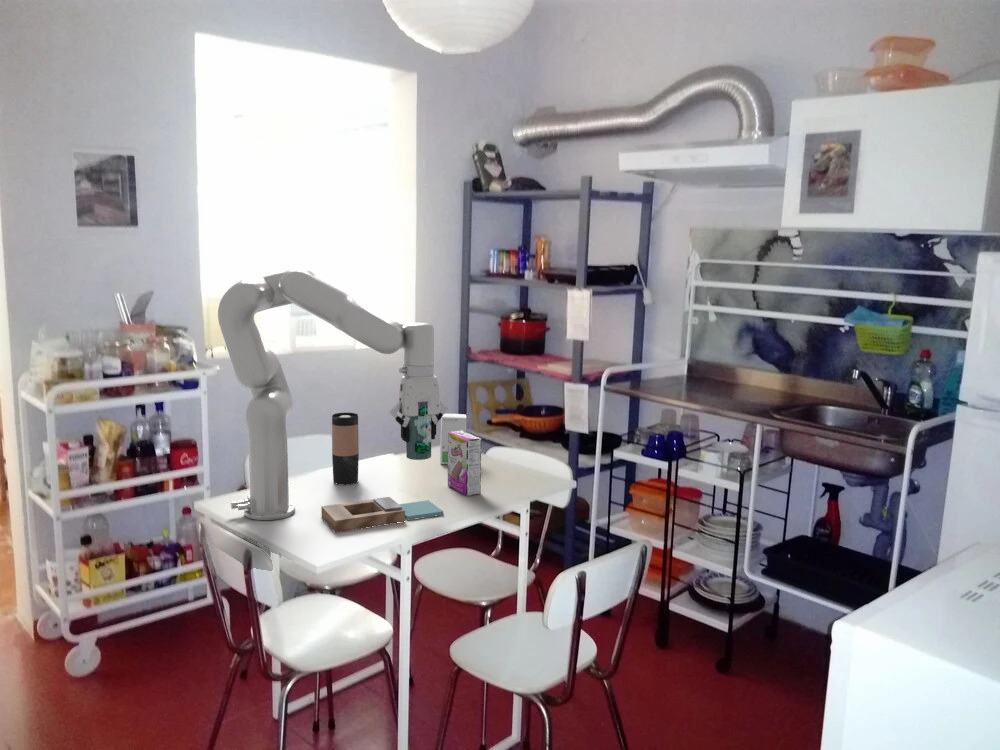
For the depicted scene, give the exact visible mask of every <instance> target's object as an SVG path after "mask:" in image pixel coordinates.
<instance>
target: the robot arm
mask: <svg viewBox="0 0 1000 750" xmlns="http://www.w3.org/2000/svg"><path fill="white" fill-rule="evenodd" d="M291 304H293V305H295V306H297V307H299V308H300V309H303V310H305V311H306V312H308V313H310V314H311V315H313V316H316V317H318V318H319V319H321V320H322V321H324V322H326V323H328V324H330V325H332V326H333V327H334V328H335V329H337V330H339V331H341V332H342V333H344V334H346V335H347V336H349V337H351V338H352V339H354V340H356V341H357V342H360V343H361V344H363V345H364V346H366V347H368V348H370V349H371V350H373V351H376V352H378V353H380V354H383V355H391V354H395V353H396V352H398V351H399V349H401V350H402V349H403V354H404V355H403V362H404V363H403V366H402V367H399V368H398V373H399V374H403V375H404V376H403V375H402V376H401V379H400V385H399V389H398V390H399V391H398V402H397V403H396V404H395V405H394V406H393V407H392V408H391V409H390V410H389V411H388V413H389V415H390V416H391V417H392V418H393V419H394V420H395V422H396V423H398V425H400V438H401V439H402V441H404V442H405V443H406V442H409V427H408V422H409V420H410V417H415V416H418V402H427V401H428V415H429V416H430V415H431V440H436V436H437V425H438V424H439V422H440V421H441V418H442V416H443V414H444V413H445V414H446V412H447V411H448V410H449V409H448V407H447V406H446V405H445V404H444V403H443V402H442V401H441V396H440V394H441V393H440V387H439V382H438V381H439V380H438V377H437V375H435V372H434V371H435V366H434V365H435V361H434V360H435V354H434V353H435V328H434V325H432V324H431V323H429V322H408V323H406V322H401V321H393V320H386V321H385V320H383V319H382V318H380V317H378V316H376V315H374V314H372V313H371V312H369V311H368V310H366V309H364V307H362V306H360V305H359V304H358V303H357V302H356V301H355V300H354V299H353V298H352V297H351V296H350V295H349V294H347V293H345V292H344V291H342V290H340V289H338V288H337V287H334V286H332V284H329V283H327V282H325V281H323V280H322V279H320V278H318V277H317V276H316V275H315V273H314V272H312V271H311V270H309V269H307V268H305V267H294V268H290V269H288V270H285V271H283V272H281V271H280V272H278V273H273V274H269V275H264V276H259V277H255V278H246V279H243V280H240V281H237V282H236V283H235V284H233V285H232V286H230V287H229V288H228V289H227V291H225V293H224V294H223V295H222V298H221V299H220V301H219V305H218V308H217V320H218V325H219V328H220V331H221V334H222V337H223V340H224V342H225V345H226V350H227V353H228V355H229V359H230V361H231V365H232V367H233V370H234V374H235V376H236V379H237V381H238V382H239V384H240V385H241V386H242V387H244V388H247V389H250V391H251V394H252V399H251V400H250V401H249V402H248V404H247V407H246V409H245V423H246V432H247V441H248V444H247V445H248V465H249V470H248V471H249V494H247V496H246V497H247V498H243V500H233V501H230V507H231V510H235V509H237V510H238V511H244V512H243V513H244V514H243V516H245V517H246V518H247V519H251V520H254V521H274V520H280V519H284V518H288V517H289V516H290V517H291V516H292V515H293V514H294V513H296V506H295V505H294V504H293V503H292V502H289V501H290V498H289V497H290V493H289V492H290V491H289V488H290V487H289V452H288V450H289V449H288V434H287V418H288V417H289V415H290V414H291V413H292V412H291V411H292V409H293V406H294V405H293V398H292V397H293V396H292V395H291V391H290V388H289V385H288V383H287V379H286V376H285V373H284V371H283V368H282V365H281V364H282V363H281V362H280V359H279V358H278V356H277V355H276V354H275V353H274V352H273V351H272V350H270V349H269V348H266V347H265V345H264V343H263V340H262V337H261V334H260V331H259V329H258V326H257V324H256V322H255V316H256V314H257V313H260V312H263V311H266V310H271V309H275V308H278V307H283V306H288V305H291ZM425 406H426V405H425ZM398 412H399V413H400V414H401V416H399V414H398ZM425 415H426V407H425Z"/></svg>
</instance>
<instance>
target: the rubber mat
mask: <svg viewBox="0 0 1000 750" xmlns="http://www.w3.org/2000/svg"><path fill="white" fill-rule="evenodd" d="M398 504H399V505H400V506H401V507H402V509H404V510H405V518H406V519H407V520H406V519H405V520H406V521H409V520H408V519H413V520H416V519H415V518H419V519H423V518H422V517H426V518H431V517H430V516H433V517H436V516H435V515H439V516H444V510H442V509H441V508H439V507H438V506H437V505H436V504H435V503H433V502H432V501H430V500H429V499H428V500H420V501H415V502H413V501H411V502H405V503H398Z"/></svg>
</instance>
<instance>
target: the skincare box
mask: <svg viewBox="0 0 1000 750" xmlns="http://www.w3.org/2000/svg"><path fill="white" fill-rule="evenodd" d="M467 420H468V417H467V414H465V413H464V414H462V413H446V412H445V413H444V414H443V416H442V418H441V419H440V422H441V423H440V447H439V464H440V465H448V432H451V431H461V430H462V431H464V432H467Z"/></svg>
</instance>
